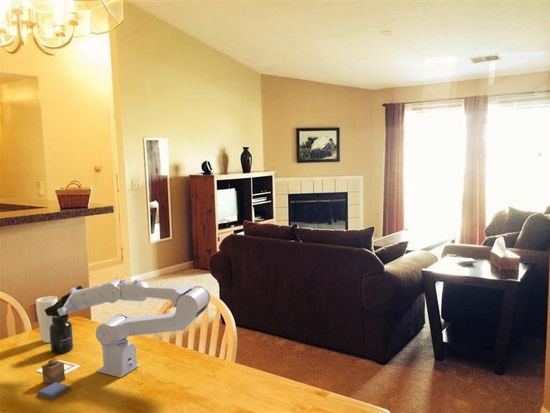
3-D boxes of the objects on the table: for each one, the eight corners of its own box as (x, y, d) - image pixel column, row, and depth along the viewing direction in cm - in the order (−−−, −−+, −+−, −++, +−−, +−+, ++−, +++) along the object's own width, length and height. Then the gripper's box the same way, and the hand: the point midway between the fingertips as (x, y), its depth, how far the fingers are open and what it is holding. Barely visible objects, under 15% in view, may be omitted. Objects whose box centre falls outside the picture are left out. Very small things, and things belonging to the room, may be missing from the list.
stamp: (65, 379, 134) (63, 359, 133) (53, 386, 131) (51, 365, 130) (55, 377, 136) (53, 356, 135) (43, 383, 132) (41, 362, 132)
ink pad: (70, 389, 128) (70, 385, 128) (52, 400, 123) (51, 396, 123) (55, 385, 131) (55, 381, 131) (36, 395, 125) (36, 391, 125)
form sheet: (81, 366, 142) (81, 365, 142) (59, 377, 135) (59, 377, 135) (58, 360, 147) (58, 359, 147) (35, 371, 140) (35, 370, 140)
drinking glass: (64, 338, 164) (61, 297, 162) (46, 345, 158) (43, 303, 156) (53, 335, 167) (50, 294, 166) (35, 341, 162) (31, 300, 160)
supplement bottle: (67, 354, 151) (64, 319, 150) (47, 354, 151) (44, 319, 150) (77, 345, 158) (74, 311, 156) (57, 345, 158) (54, 311, 156)
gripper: (98, 274, 145) (64, 284, 149) (69, 296, 132) (32, 306, 135) (107, 294, 147) (73, 303, 150) (80, 317, 133) (43, 327, 137)
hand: (54, 306), depth 143 cm, fingers open, 7 cm apart
